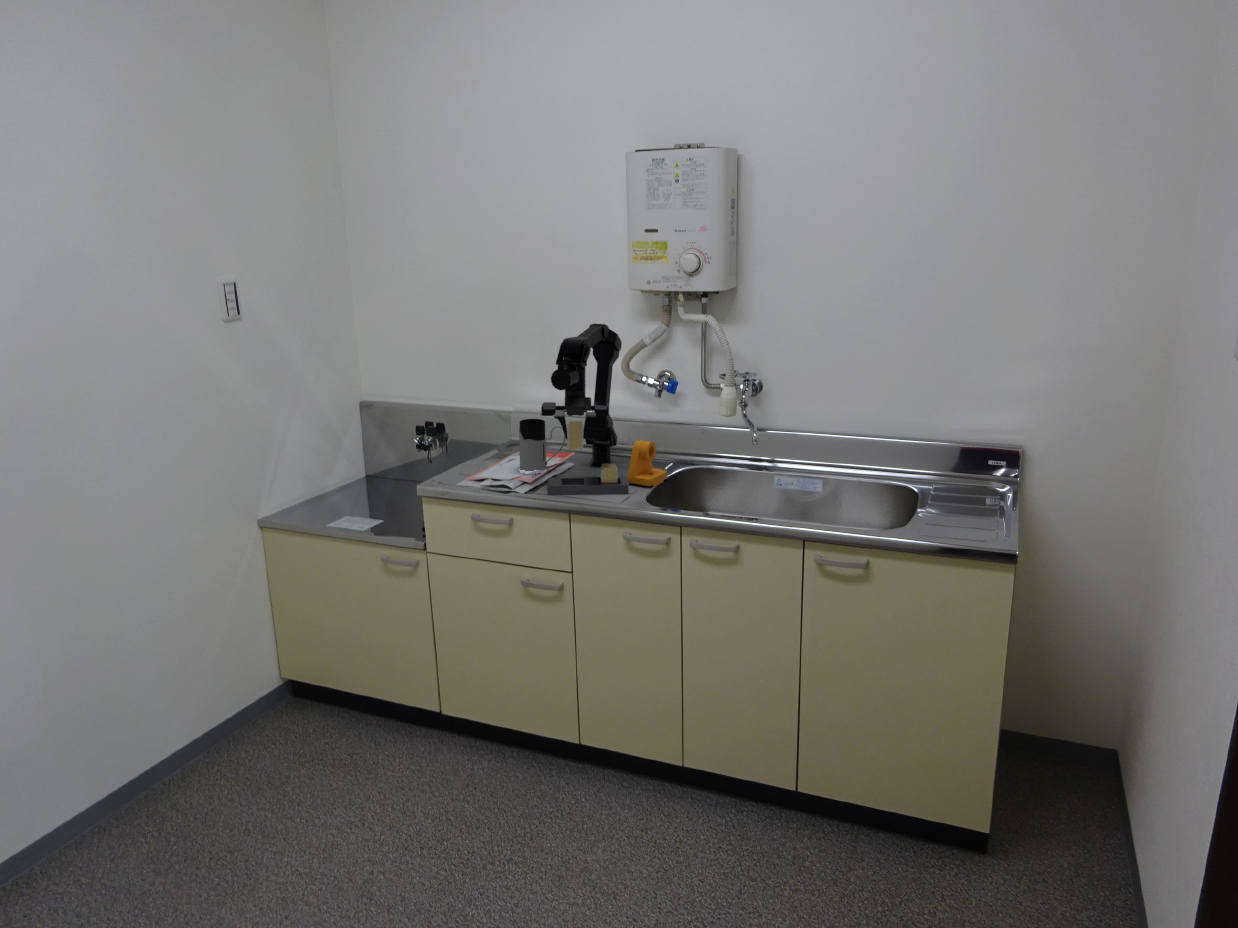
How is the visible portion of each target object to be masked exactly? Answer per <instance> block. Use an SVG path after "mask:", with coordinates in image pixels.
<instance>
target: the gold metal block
mask: <svg viewBox="0 0 1238 928" xmlns="http://www.w3.org/2000/svg"><path fill="white" fill-rule="evenodd" d="M566 427H567V439H566V441H567V443H566V444H567V446H566V447H567V448H568V449H570V450H574V449H579V450H580V449H581V450H582V448H584V439H583V430H584V423H583V422H582V420H568V423H566Z"/></svg>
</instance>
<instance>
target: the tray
mask: <svg viewBox="0 0 1238 928" xmlns="http://www.w3.org/2000/svg"><path fill="white" fill-rule="evenodd" d="M546 490H547V495H548V496H549V495H550V496H552V495H553V496H556V495H557V496H559V495H561V496H562V495H563V496H564V495H567V496H568V495H569V496H570V495H571V496H572V495H574V496H575V495H576V496H577V495H628V494H629V482H627V476H618V484H603V485H601V476H594V477H589V476H587V477H586V476H585V477H581V476H580V477H579V476H578V477H577V476H576V477H570V476H569V477H547V489H546Z"/></svg>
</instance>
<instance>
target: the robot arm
mask: <svg viewBox="0 0 1238 928" xmlns="http://www.w3.org/2000/svg"><path fill="white" fill-rule="evenodd" d="M591 349H592V351H591ZM621 350H622V340H621V337H620V336H619V334H618V333H617V332H615V331H614V330H612V329H610V328H609V326H608V325H607V324H605V323H592V324H589V326H588V328H586V329H585V330H584V331H583V332H581V333H579V334H578V336H572V337H566V338H564V339H563V340H562V342H561V344H560V346H559V349H558V354H557V357H556V361H555V364H556V366H557V369H555V370H554V371H553V372H552V374H551V376H550V383H551V385H552V386H553V388H554V389H556V390H558V391H564V405H556V404H557V403H556V402H554V401H553V402H552V401H551V402H545V401H544V402H543V403H542V404H541V408H540V409H541V410H540V411H541V412H540V413H541V417H542V416H543V417H553V418H554V419H556V420H558V421H559V423H560V427H562V429H561V430H562V432H563V435H565V440H567V422H566V415H567V416H570V417H572V416H579V417H581V416H584V422H583V440H585V445H586V446H587V445H590V446H591V447H592V448H591V449H592V450H591V452H592V453H591V454H592V455H591V459H590V467H601V466H602V464H613V461H612V456H611V455H612V450H611V449H612V447H617V443H618V435H617V433H616V431H615V428H614V421H613V419H612V417H611V415H610V400H611V389H612V378H613V377H612V375H613V367H614V366H613V365H614V364H615V363H616V362H617V360H618V358H620V357H619V356H620V352H621ZM591 352H592V356H593V358H594V360H595V361H596V373H595V374H596V375H595V385H594V397H593V405H592V397H590V396H587V397H586V367H587V365H588V364H587V362H588V359H589V357H590V355H591Z"/></svg>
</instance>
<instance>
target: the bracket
mask: <svg viewBox="0 0 1238 928" xmlns="http://www.w3.org/2000/svg"><path fill="white" fill-rule="evenodd" d="M656 454H657V444H656V443H655V442H653V441H647V440H641V439H637V440H636V441H635V442H634V444H633V447H632V452H631V457H630V461H629V465H628V471H627V476H626V479H627V483H628V484H629V483H630V484H635V485H640V486H646V487H656V486H659V485H660V484H662V483H664V481H665V479H666V480H667V478H668V470H664V469H659V468H654V466H653V460H654V459H655V457H656Z"/></svg>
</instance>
